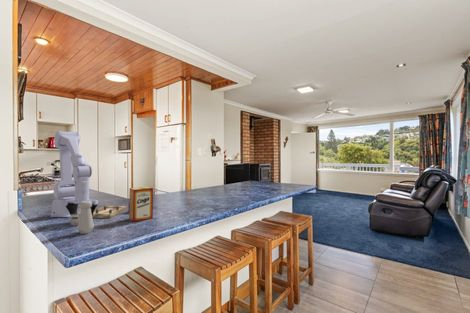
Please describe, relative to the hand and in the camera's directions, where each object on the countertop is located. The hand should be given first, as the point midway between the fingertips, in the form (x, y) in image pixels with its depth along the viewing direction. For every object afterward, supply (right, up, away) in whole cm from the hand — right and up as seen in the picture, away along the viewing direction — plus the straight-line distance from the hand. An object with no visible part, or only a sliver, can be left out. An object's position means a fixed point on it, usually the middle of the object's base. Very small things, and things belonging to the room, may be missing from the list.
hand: (81, 219), depth 106 cm
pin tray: (+3, -1, +16) cm, 16 cm away
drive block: (0, -2, 0) cm, 2 cm away
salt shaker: (+11, -2, -13) cm, 17 cm away
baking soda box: (+25, -2, +8) cm, 26 cm away
